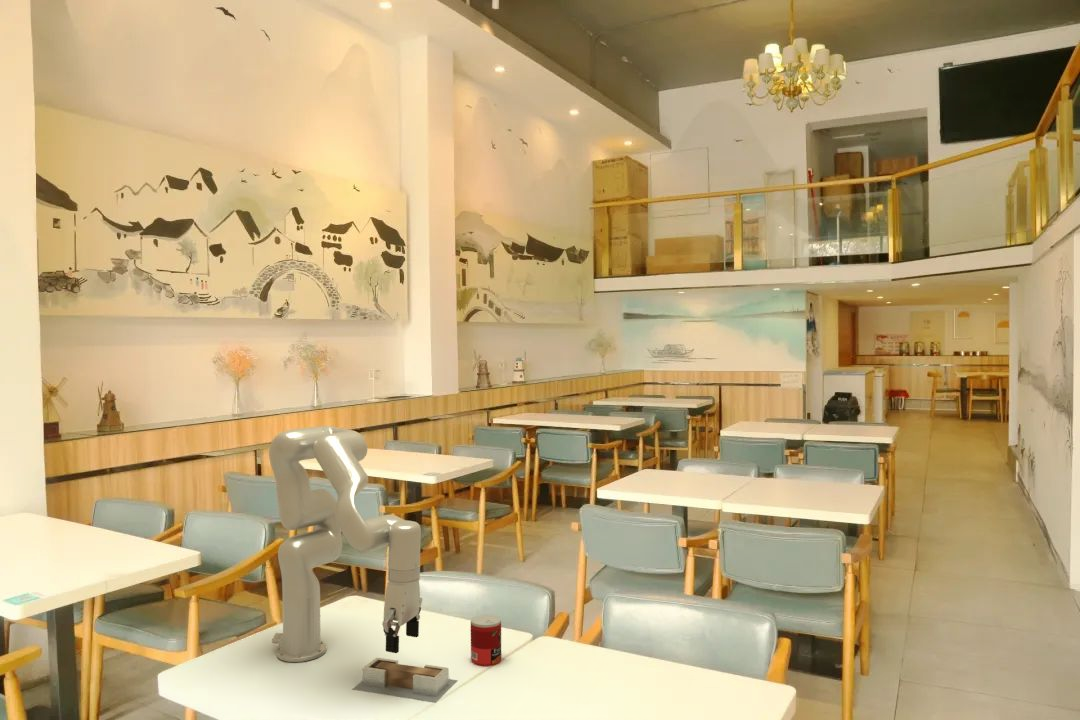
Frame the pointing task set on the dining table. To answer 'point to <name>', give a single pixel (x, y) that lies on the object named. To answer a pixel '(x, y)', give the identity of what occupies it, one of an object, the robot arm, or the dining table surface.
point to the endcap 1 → (375, 673)
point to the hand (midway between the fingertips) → (402, 643)
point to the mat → (404, 692)
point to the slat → (404, 674)
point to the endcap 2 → (431, 682)
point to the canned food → (486, 640)
